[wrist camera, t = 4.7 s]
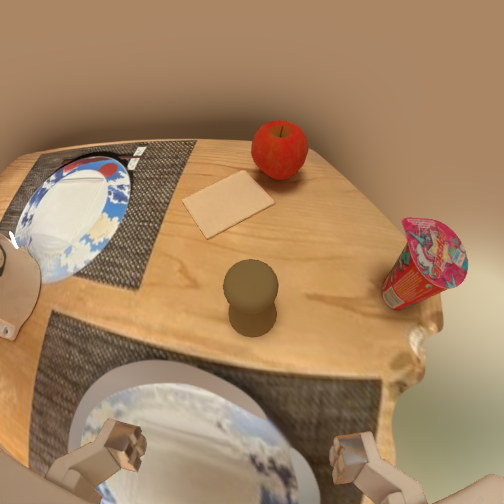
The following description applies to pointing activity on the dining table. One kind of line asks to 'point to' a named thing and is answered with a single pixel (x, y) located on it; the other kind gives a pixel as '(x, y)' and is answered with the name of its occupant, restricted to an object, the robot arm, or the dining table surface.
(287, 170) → the apple
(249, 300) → the pepper shaker
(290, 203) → the dining table surface
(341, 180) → the dining table surface
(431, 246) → the cup
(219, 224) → the napkin
